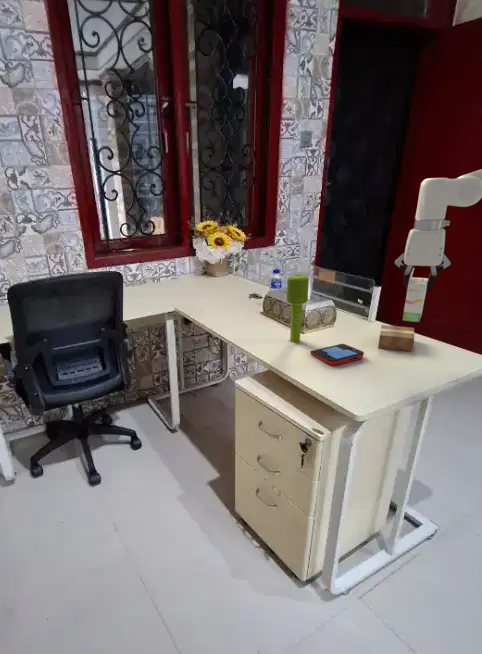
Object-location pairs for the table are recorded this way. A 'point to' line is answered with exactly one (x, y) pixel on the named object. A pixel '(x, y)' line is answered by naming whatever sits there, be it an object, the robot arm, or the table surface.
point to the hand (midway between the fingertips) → (417, 286)
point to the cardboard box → (396, 338)
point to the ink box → (415, 298)
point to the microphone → (296, 302)
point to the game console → (338, 354)
